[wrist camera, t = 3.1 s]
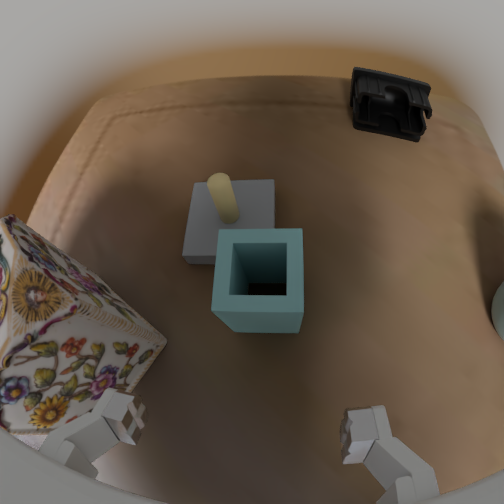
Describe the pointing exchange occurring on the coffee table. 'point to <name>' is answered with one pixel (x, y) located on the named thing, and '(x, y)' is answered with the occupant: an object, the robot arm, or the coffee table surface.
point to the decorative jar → (61, 335)
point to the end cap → (389, 104)
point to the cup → (498, 310)
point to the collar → (259, 279)
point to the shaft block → (225, 213)
